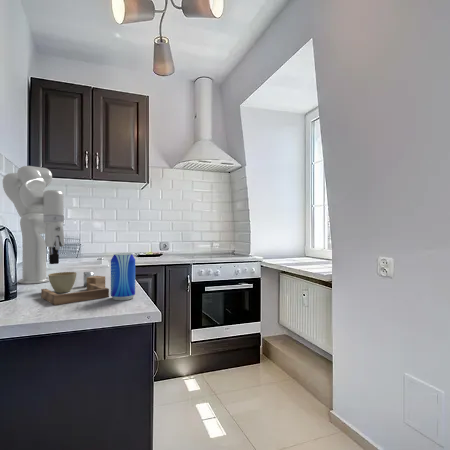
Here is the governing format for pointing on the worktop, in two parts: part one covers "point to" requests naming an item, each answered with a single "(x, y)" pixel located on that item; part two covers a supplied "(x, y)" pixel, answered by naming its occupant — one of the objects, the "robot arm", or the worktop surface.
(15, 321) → the worktop surface
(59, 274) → the flower pot
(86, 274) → the grey metal cylinder
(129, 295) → the beer can
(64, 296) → the bay
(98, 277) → the walnut block
